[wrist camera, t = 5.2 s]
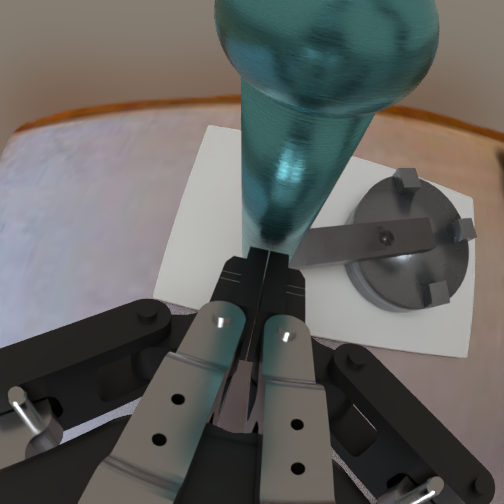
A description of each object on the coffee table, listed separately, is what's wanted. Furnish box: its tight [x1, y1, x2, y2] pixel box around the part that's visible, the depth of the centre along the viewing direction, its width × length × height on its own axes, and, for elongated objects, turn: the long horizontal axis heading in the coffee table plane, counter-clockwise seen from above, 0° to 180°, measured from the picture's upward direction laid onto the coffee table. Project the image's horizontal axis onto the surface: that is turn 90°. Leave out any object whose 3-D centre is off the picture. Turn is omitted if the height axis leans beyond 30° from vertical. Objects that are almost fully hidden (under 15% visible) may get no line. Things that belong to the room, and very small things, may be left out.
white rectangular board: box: [153, 125, 475, 358], centre depth 22 cm, size 24×14×2 cm, turn 77°
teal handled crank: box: [214, 0, 477, 313], centre depth 12 cm, size 16×9×19 cm, turn 97°
